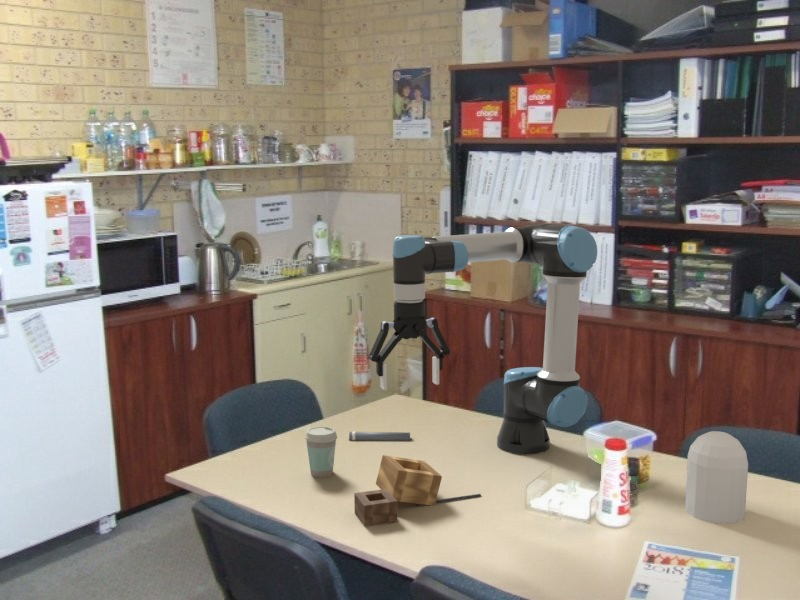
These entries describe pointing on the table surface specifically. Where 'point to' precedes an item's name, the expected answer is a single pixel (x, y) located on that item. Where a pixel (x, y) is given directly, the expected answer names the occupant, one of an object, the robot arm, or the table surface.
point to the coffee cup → (321, 450)
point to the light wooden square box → (409, 480)
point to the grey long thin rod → (455, 498)
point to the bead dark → (375, 507)
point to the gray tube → (379, 436)
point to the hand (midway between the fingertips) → (409, 386)
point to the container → (716, 478)
